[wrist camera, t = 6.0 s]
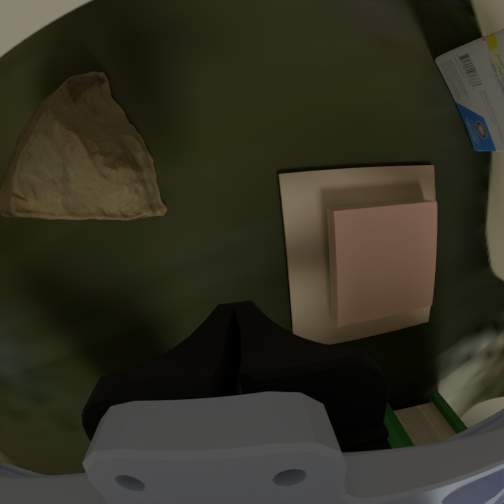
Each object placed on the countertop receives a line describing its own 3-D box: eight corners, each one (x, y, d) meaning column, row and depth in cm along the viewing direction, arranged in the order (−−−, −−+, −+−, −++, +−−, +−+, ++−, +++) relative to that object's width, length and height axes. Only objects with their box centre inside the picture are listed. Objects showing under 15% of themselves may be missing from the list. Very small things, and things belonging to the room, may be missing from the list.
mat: (426, 320, 24) (428, 321, 23) (293, 348, 23) (294, 350, 23) (431, 165, 20) (433, 165, 20) (278, 174, 20) (279, 174, 20)
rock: (36, 66, 14) (4, 209, 16) (51, 6, 8) (-8, 220, 9) (165, 96, 22) (142, 220, 23) (233, 64, 16) (203, 235, 17)
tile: (330, 316, 22) (421, 297, 23) (337, 326, 21) (431, 305, 21) (325, 207, 20) (424, 198, 21) (333, 211, 19) (437, 201, 19)
